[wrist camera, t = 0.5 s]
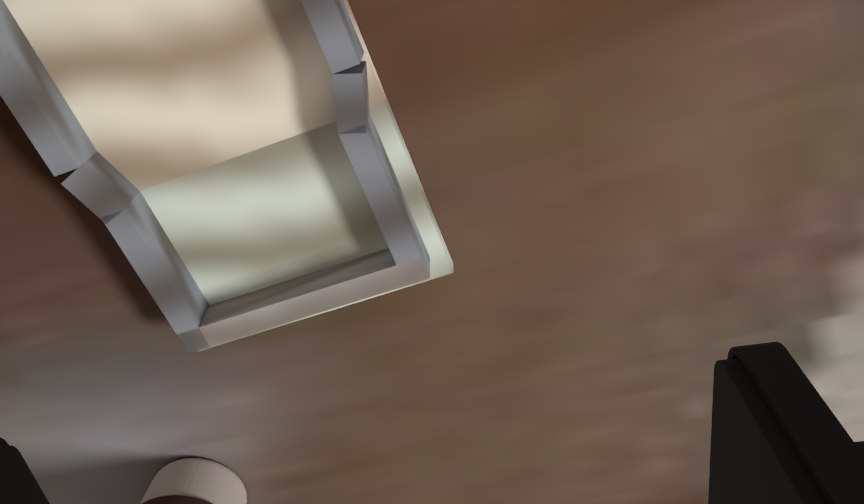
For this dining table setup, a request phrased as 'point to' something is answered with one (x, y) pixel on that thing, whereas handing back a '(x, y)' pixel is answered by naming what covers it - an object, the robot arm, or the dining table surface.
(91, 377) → the dining table surface
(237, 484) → the coffee cup
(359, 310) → the dining table surface
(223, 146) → the gray shallow tray
